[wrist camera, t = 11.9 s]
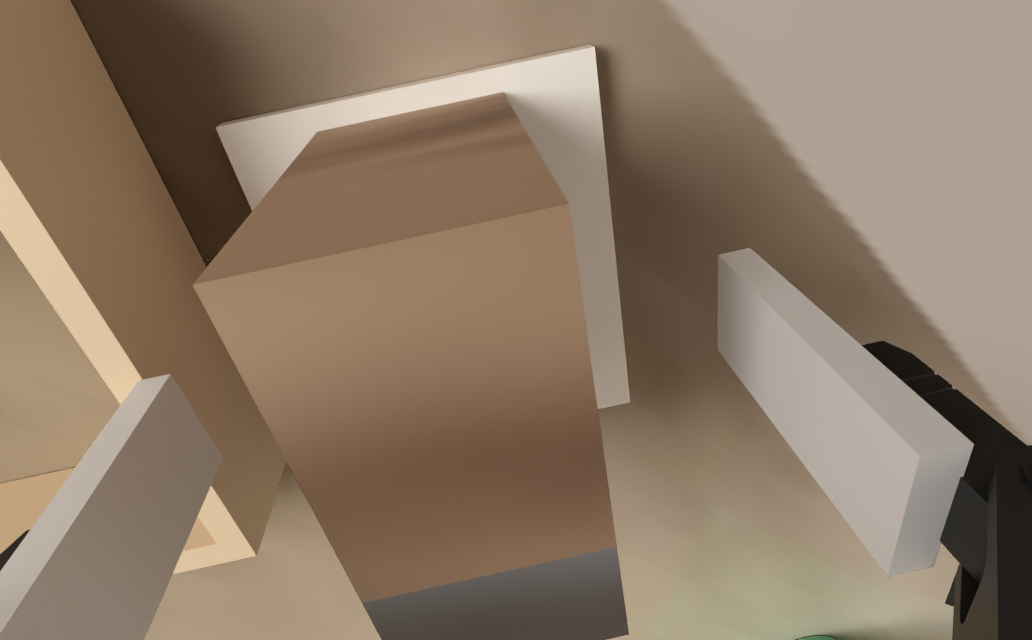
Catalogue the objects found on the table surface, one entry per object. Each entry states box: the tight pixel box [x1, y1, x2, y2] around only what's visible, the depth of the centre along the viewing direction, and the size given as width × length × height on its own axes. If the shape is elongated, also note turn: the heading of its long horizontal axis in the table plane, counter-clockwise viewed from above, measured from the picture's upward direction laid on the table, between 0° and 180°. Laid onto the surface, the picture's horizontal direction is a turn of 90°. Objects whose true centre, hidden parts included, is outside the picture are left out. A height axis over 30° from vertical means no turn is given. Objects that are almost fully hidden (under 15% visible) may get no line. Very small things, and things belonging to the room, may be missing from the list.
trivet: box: [215, 44, 630, 409], centre depth 18 cm, size 12×10×1 cm
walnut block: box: [193, 92, 629, 640], centre depth 14 cm, size 10×5×9 cm, turn 10°
